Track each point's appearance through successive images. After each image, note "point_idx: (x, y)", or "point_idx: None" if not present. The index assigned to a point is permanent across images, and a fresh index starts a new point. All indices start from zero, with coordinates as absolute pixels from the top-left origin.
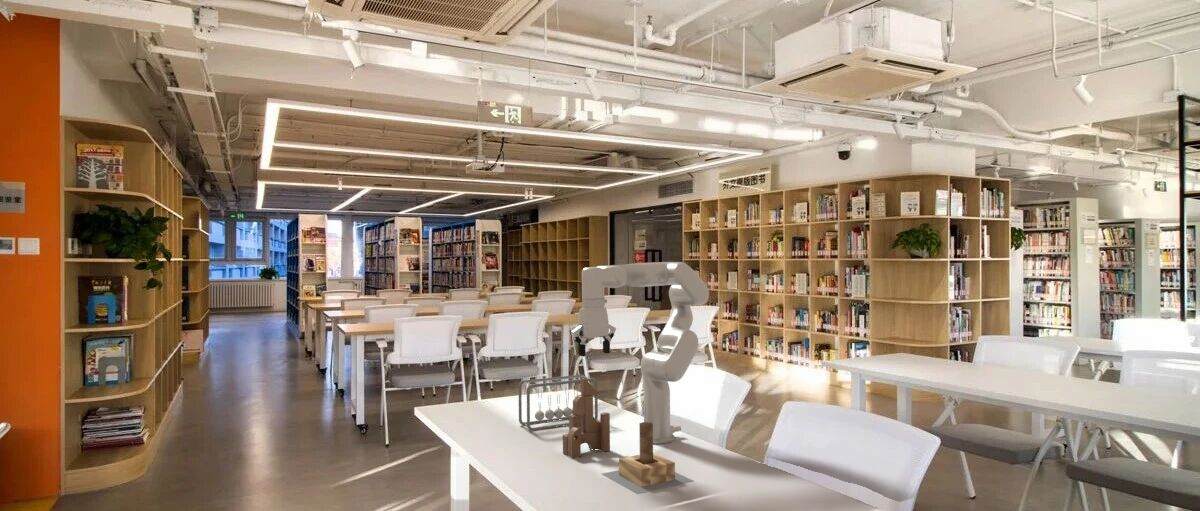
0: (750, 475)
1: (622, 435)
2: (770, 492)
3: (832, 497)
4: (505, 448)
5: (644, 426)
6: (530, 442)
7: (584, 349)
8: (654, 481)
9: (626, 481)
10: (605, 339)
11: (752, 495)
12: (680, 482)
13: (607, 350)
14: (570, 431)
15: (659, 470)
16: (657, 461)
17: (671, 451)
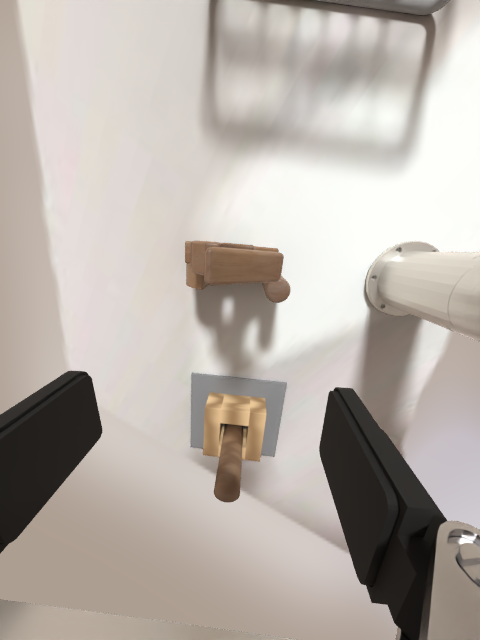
0: None
1: (373, 205)
2: (316, 511)
3: None
4: (107, 128)
5: (216, 496)
6: (172, 116)
7: (45, 491)
8: None
9: (203, 413)
10: (415, 600)
11: (294, 506)
12: None
13: (326, 471)
14: (188, 269)
15: None
16: (246, 442)
17: (357, 352)
